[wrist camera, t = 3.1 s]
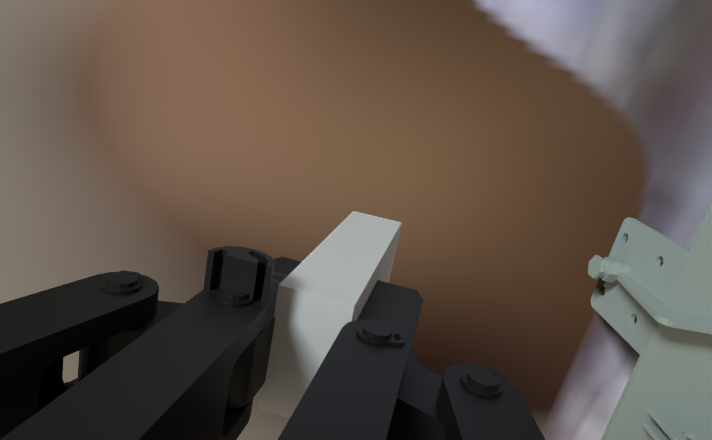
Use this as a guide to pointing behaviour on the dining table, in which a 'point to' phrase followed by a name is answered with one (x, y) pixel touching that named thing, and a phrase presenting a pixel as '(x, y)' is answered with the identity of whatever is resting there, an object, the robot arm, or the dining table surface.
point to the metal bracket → (660, 330)
